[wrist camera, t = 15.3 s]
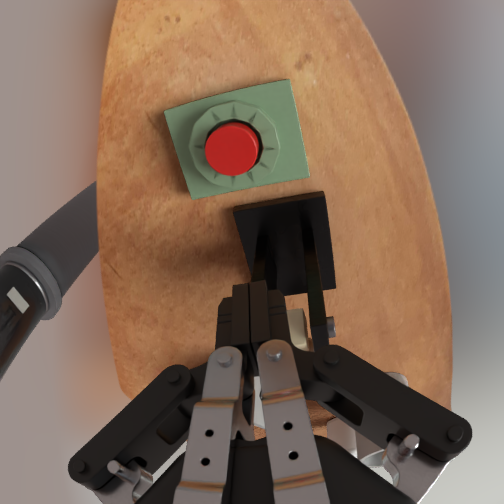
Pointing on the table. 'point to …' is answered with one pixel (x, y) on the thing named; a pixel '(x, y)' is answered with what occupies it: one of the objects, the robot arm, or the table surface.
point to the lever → (299, 330)
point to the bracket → (292, 252)
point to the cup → (366, 448)
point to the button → (232, 149)
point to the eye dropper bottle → (342, 435)
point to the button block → (256, 118)
